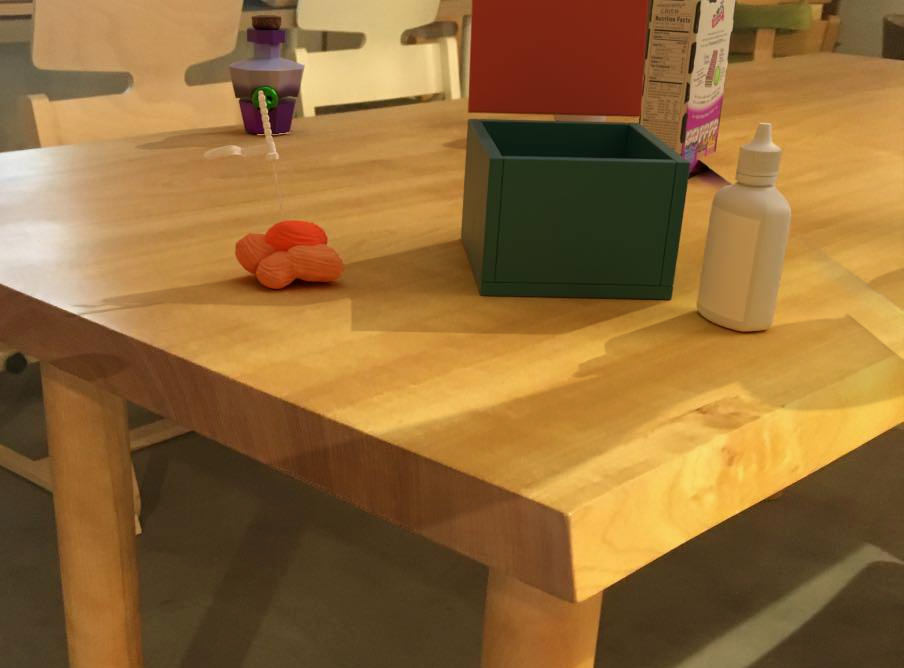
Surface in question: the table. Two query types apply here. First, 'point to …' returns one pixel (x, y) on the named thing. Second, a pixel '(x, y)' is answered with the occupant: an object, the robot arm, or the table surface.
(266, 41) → the potion bottle
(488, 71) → the lid
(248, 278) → the table surface
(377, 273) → the table surface
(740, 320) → the eye dropper bottle
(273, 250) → the peanut cluster ornament
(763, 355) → the table surface
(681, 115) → the candy bar box
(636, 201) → the open storage box
